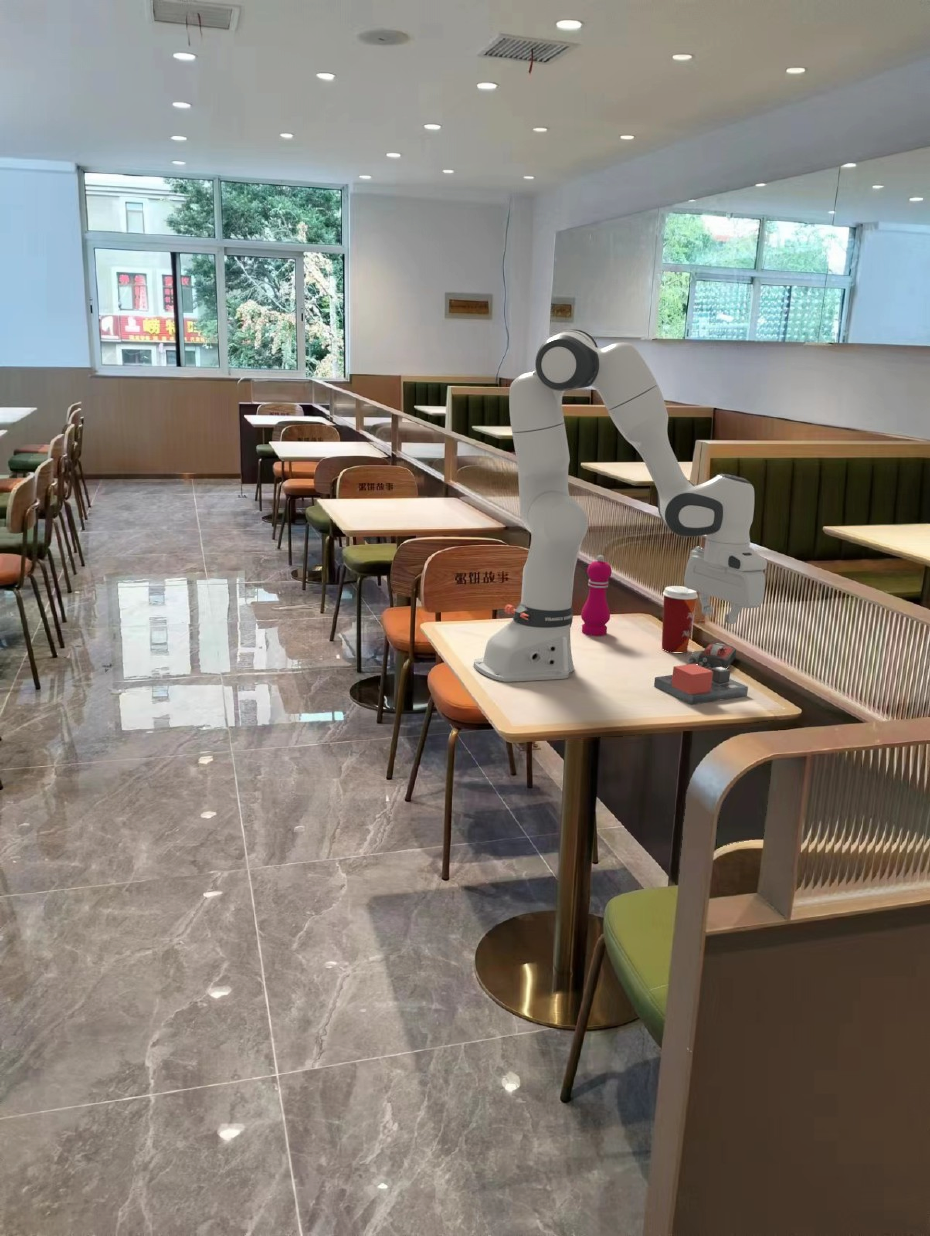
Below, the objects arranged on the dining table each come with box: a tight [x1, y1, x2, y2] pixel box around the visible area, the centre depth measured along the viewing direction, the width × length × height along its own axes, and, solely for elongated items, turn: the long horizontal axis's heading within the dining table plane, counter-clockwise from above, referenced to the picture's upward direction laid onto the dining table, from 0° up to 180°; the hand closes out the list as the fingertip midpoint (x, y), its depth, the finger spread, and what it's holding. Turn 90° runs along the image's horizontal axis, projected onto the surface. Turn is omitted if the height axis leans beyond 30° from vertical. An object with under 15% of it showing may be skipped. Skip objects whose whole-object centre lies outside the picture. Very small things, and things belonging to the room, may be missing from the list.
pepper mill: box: [580, 554, 612, 637], centre depth 240 cm, size 7×7×20 cm
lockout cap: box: [671, 664, 713, 694], centre depth 197 cm, size 6×6×4 cm
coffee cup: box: [661, 585, 699, 653], centre depth 230 cm, size 8×8×15 cm
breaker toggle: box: [710, 667, 731, 683], centre depth 203 cm, size 3×3×3 cm
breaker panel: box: [653, 669, 749, 705], centre depth 202 cm, size 15×12×3 cm
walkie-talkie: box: [685, 642, 737, 669], centre depth 221 cm, size 9×4×20 cm
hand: (718, 618), depth 202 cm, fingers open, 6 cm apart
